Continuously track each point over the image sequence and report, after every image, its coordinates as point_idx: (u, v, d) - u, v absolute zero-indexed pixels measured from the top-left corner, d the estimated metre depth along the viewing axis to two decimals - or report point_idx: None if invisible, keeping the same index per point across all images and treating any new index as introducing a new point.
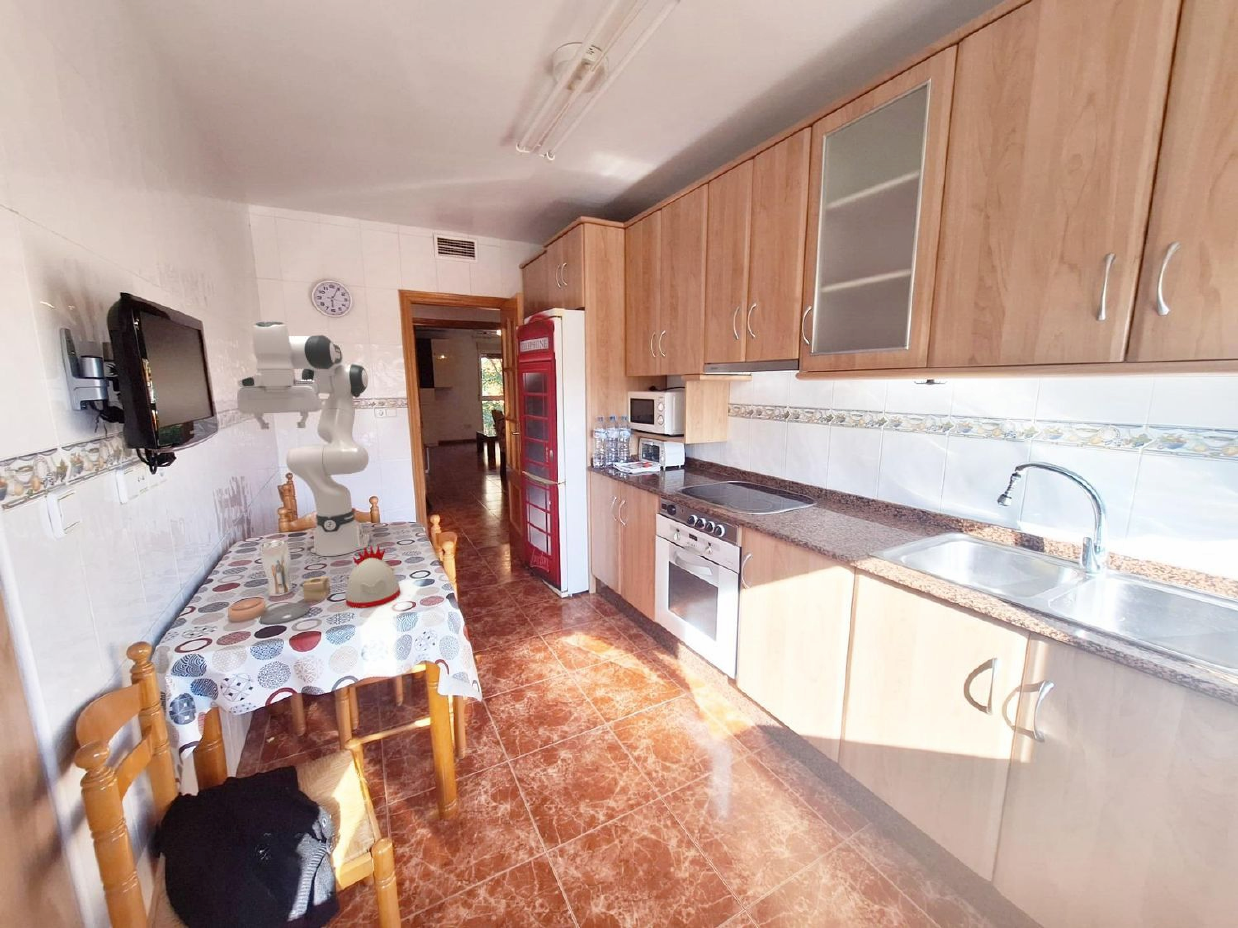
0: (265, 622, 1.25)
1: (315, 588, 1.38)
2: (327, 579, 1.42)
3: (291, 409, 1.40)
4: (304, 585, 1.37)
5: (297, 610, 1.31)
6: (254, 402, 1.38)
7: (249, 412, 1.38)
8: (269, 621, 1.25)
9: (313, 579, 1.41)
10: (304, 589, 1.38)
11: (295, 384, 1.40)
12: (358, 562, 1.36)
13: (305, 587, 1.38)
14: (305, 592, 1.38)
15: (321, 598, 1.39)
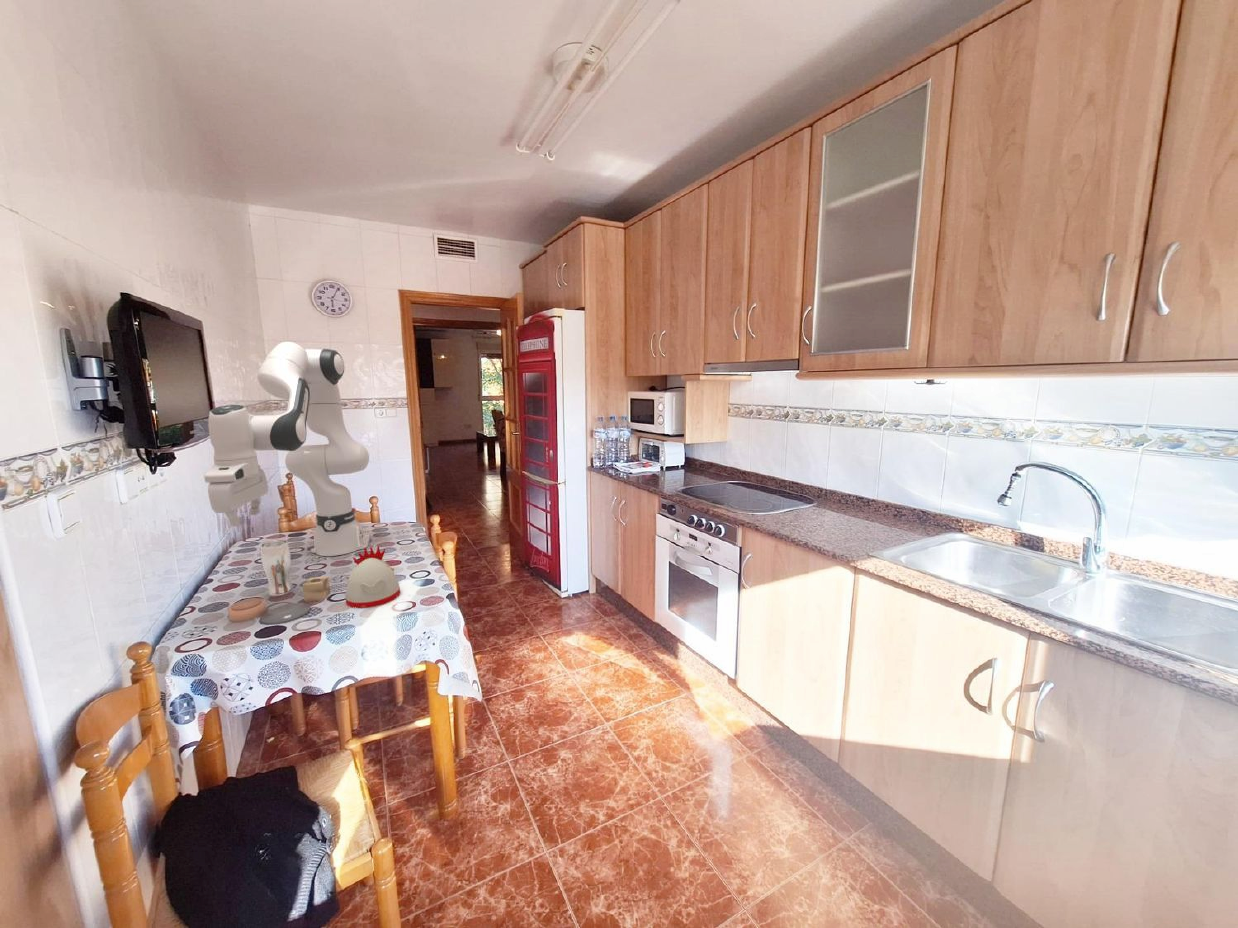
0: (265, 622, 1.25)
1: (315, 588, 1.38)
2: (327, 579, 1.42)
3: (257, 495, 1.33)
4: (304, 585, 1.37)
5: (297, 610, 1.31)
6: (237, 495, 1.24)
7: (234, 508, 1.23)
8: (269, 621, 1.25)
9: (313, 579, 1.41)
10: (304, 589, 1.38)
11: None
12: (358, 562, 1.36)
13: (305, 587, 1.38)
14: (305, 592, 1.38)
15: (321, 598, 1.39)
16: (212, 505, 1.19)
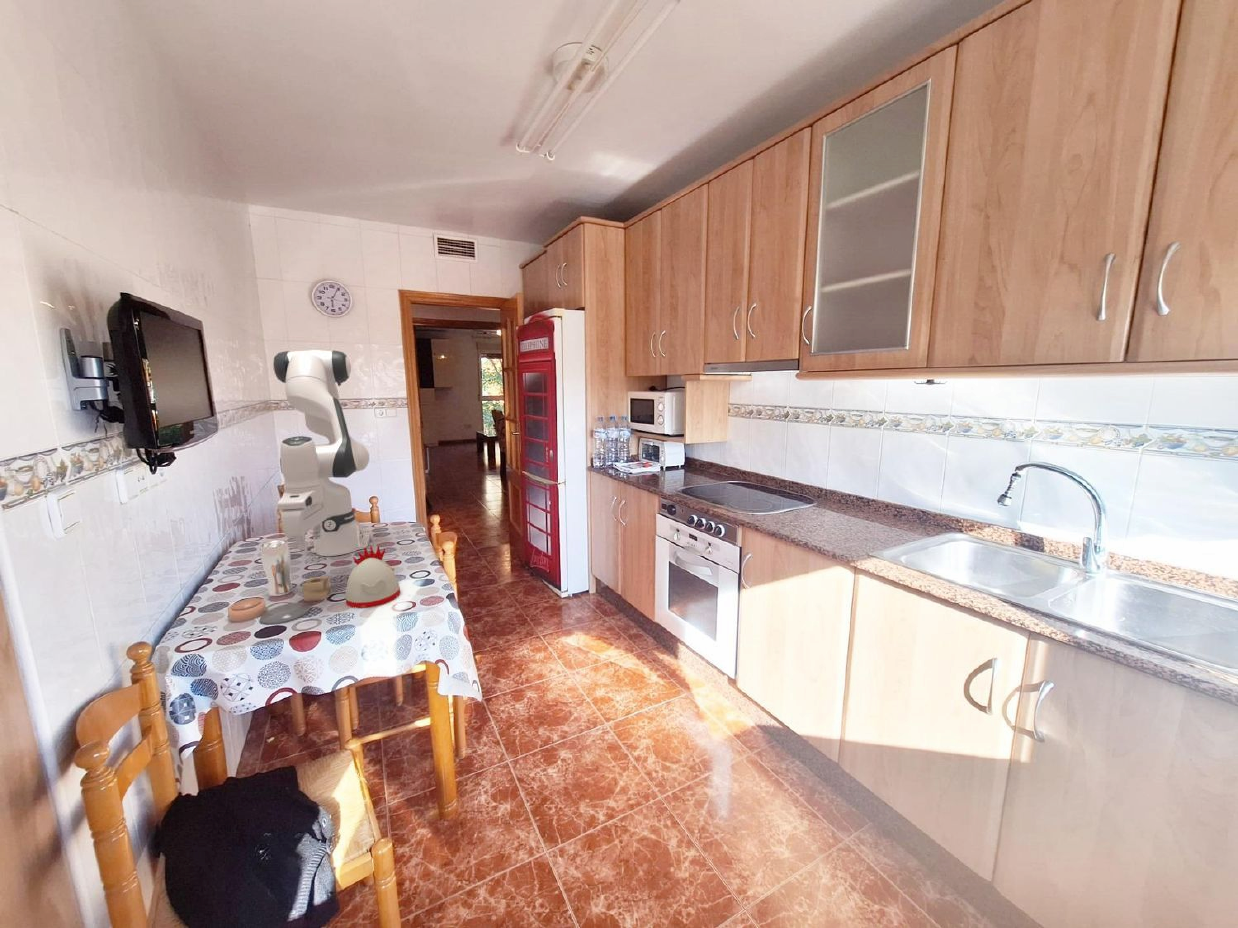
0: (265, 622, 1.25)
1: (315, 588, 1.38)
2: (327, 579, 1.42)
3: (320, 521, 1.41)
4: (304, 585, 1.37)
5: (297, 610, 1.31)
6: (305, 521, 1.32)
7: (303, 533, 1.30)
8: (269, 621, 1.25)
9: (313, 579, 1.41)
10: (304, 589, 1.38)
11: None
12: (358, 562, 1.36)
13: (305, 587, 1.38)
14: (305, 592, 1.38)
15: (321, 598, 1.39)
16: (284, 531, 1.27)
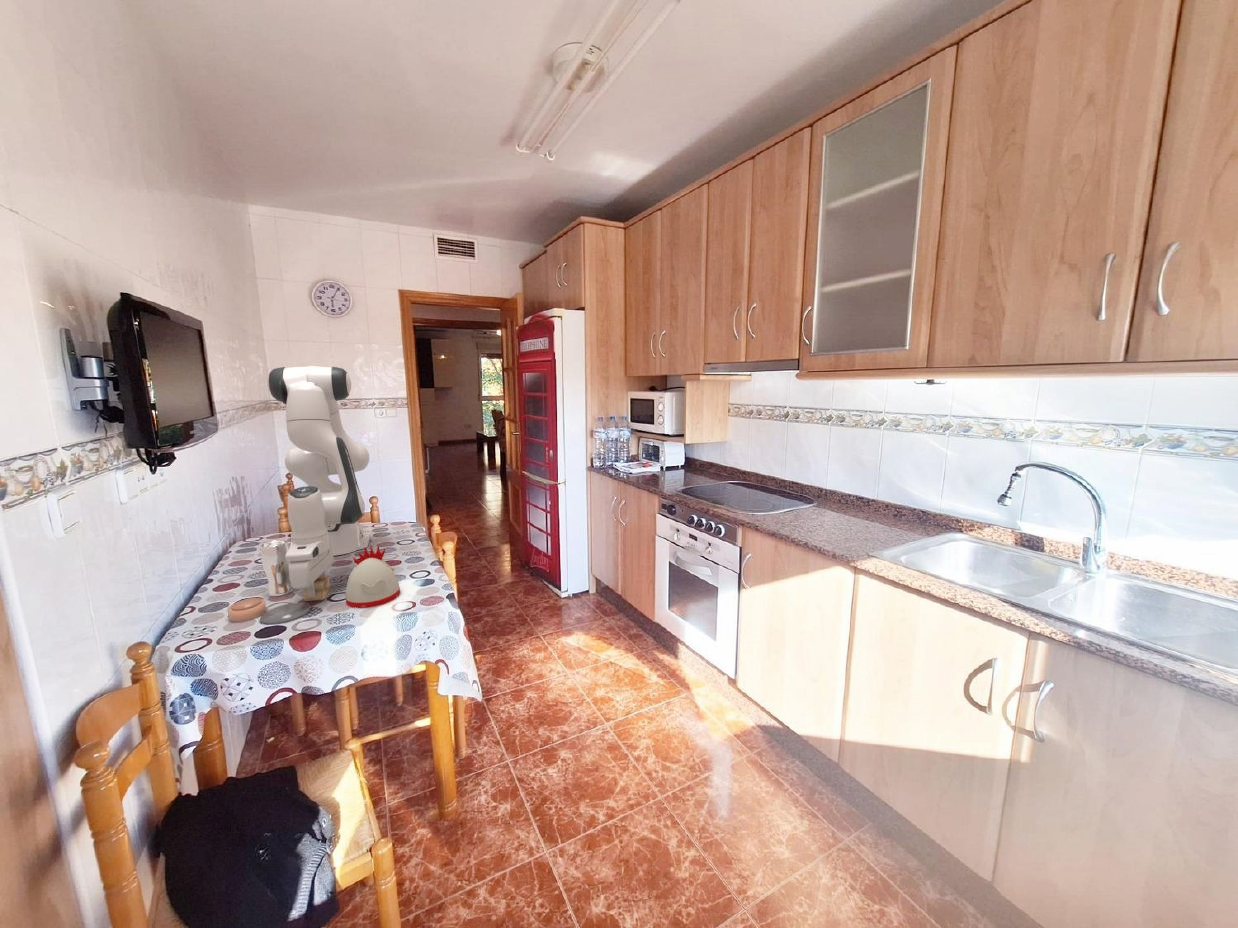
0: (265, 622, 1.25)
1: None
2: (327, 579, 1.42)
3: (326, 567, 1.43)
4: None
5: (297, 610, 1.31)
6: (312, 571, 1.34)
7: (310, 584, 1.33)
8: (269, 621, 1.25)
9: None
10: (304, 589, 1.38)
11: None
12: (358, 562, 1.36)
13: None
14: (305, 592, 1.38)
15: (321, 598, 1.39)
16: (292, 582, 1.30)
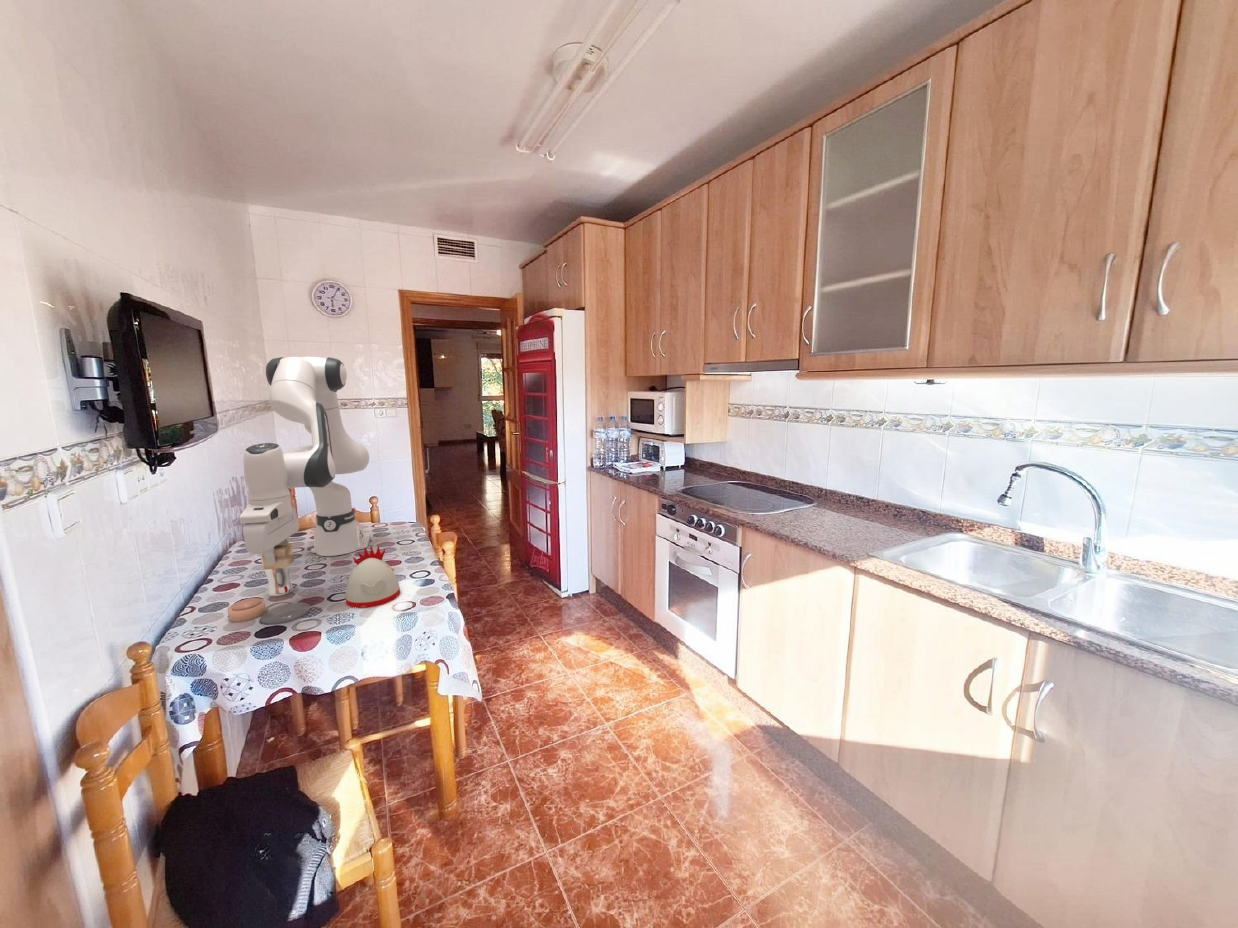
0: (265, 622, 1.25)
1: (275, 555, 1.25)
2: (290, 546, 1.29)
3: (289, 534, 1.31)
4: None
5: (297, 610, 1.31)
6: (271, 536, 1.21)
7: (269, 549, 1.20)
8: (269, 621, 1.25)
9: None
10: (263, 556, 1.25)
11: None
12: (358, 562, 1.36)
13: None
14: (264, 559, 1.25)
15: (282, 566, 1.26)
16: (247, 547, 1.17)
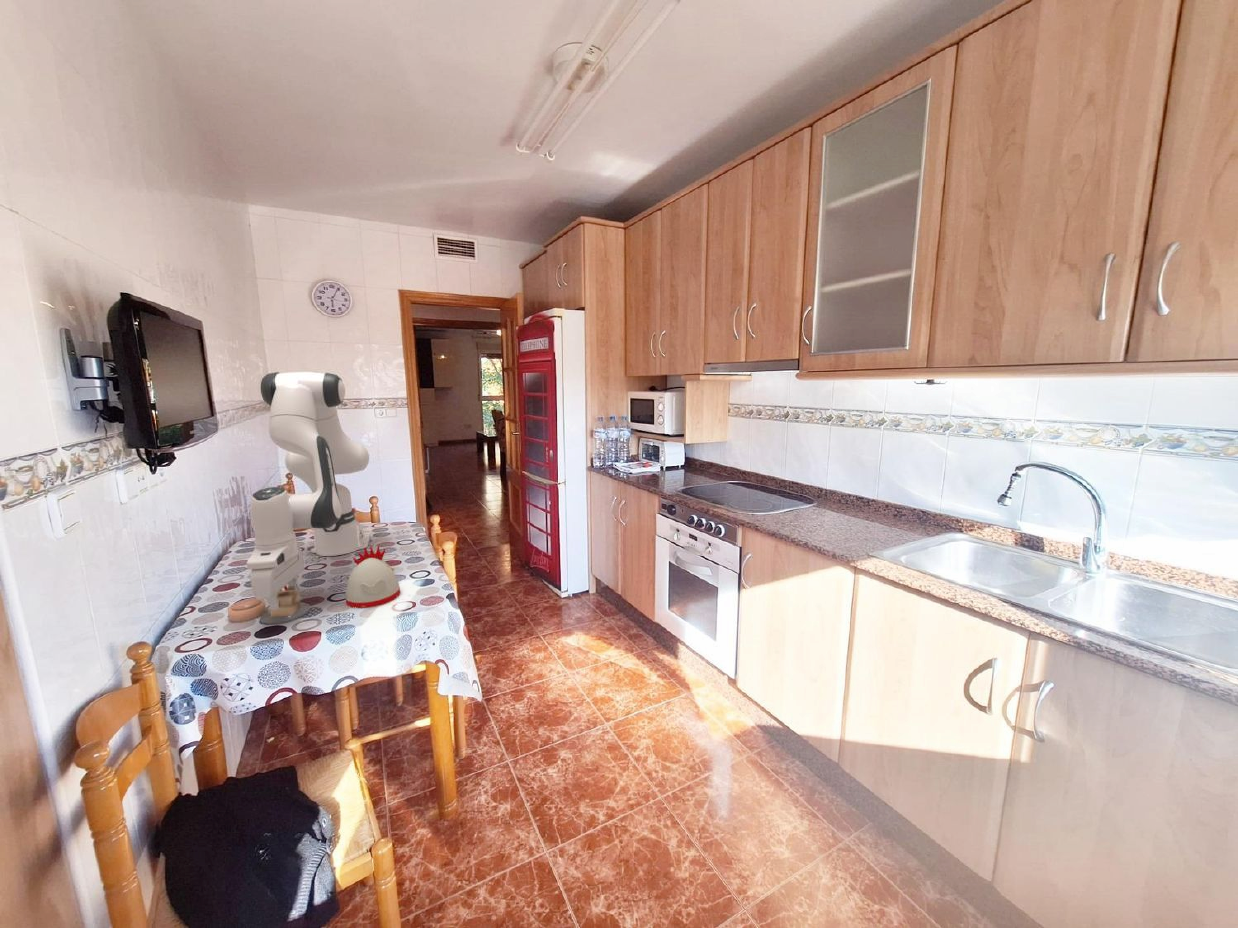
0: (265, 622, 1.25)
1: (282, 603, 1.28)
2: (296, 592, 1.32)
3: (295, 575, 1.33)
4: None
5: (297, 610, 1.31)
6: (277, 580, 1.23)
7: (275, 593, 1.22)
8: (269, 621, 1.25)
9: (281, 593, 1.30)
10: None
11: None
12: (358, 562, 1.36)
13: None
14: None
15: (289, 613, 1.28)
16: (254, 592, 1.19)
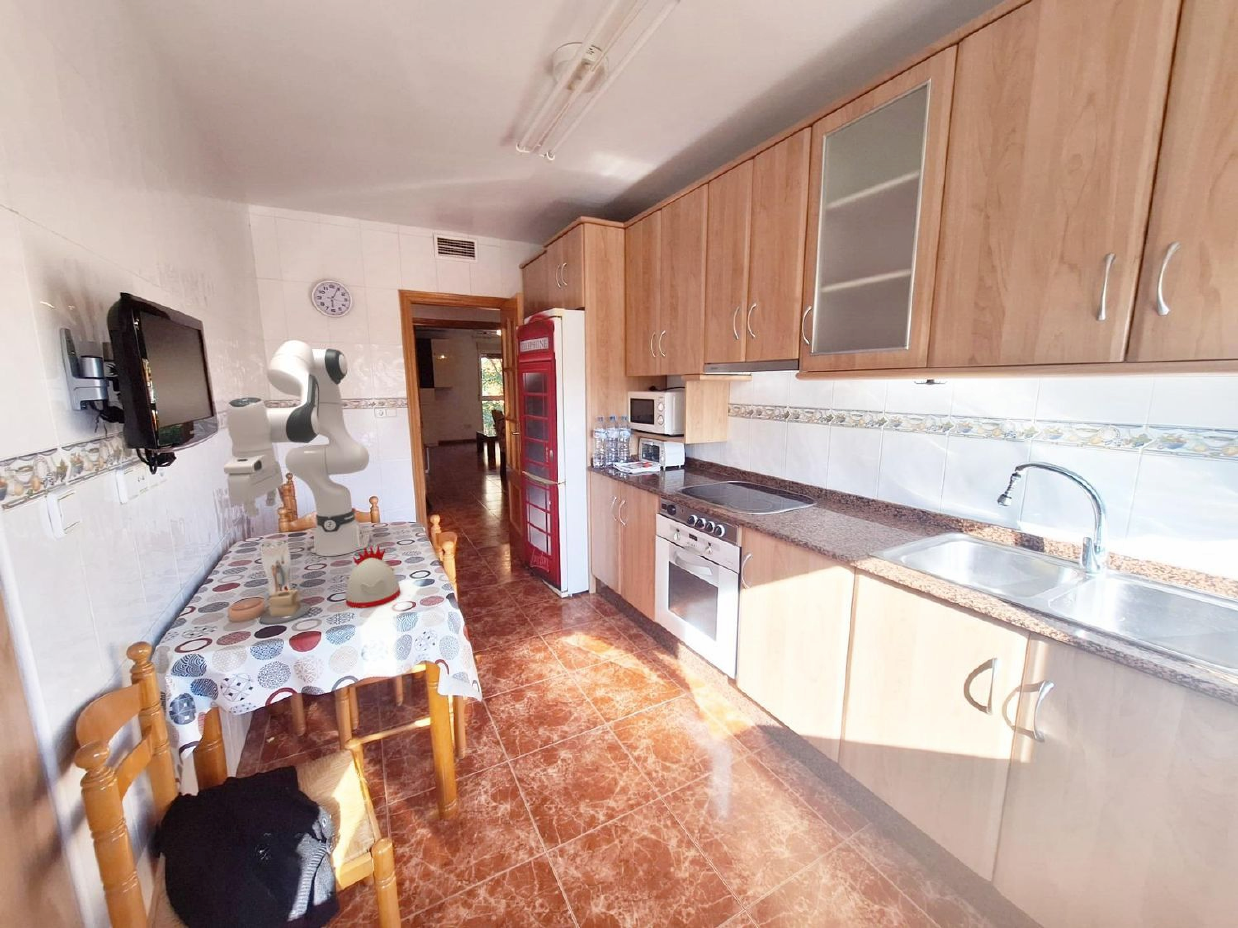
0: (265, 622, 1.25)
1: (282, 603, 1.28)
2: (296, 592, 1.32)
3: (273, 487, 1.35)
4: (270, 599, 1.27)
5: (297, 610, 1.31)
6: (255, 487, 1.26)
7: (253, 499, 1.25)
8: (269, 621, 1.25)
9: (281, 593, 1.30)
10: (270, 604, 1.27)
11: None
12: (358, 562, 1.36)
13: (271, 602, 1.27)
14: (272, 607, 1.27)
15: (289, 613, 1.28)
16: (231, 496, 1.21)
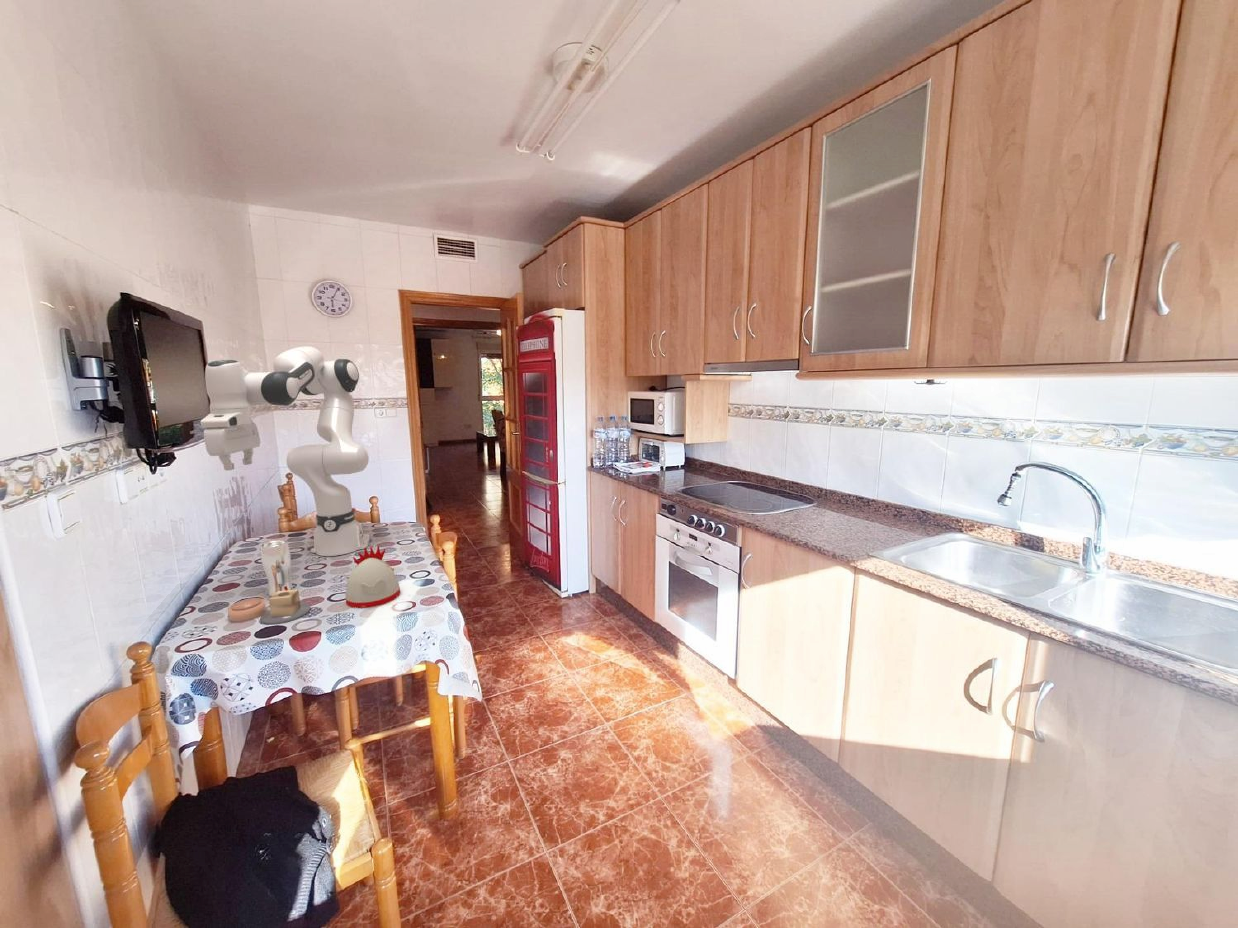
0: (265, 622, 1.25)
1: (282, 603, 1.28)
2: (296, 592, 1.32)
3: (249, 446, 1.43)
4: (270, 599, 1.27)
5: (297, 610, 1.31)
6: (230, 442, 1.34)
7: (228, 453, 1.33)
8: (269, 621, 1.25)
9: (281, 593, 1.30)
10: (270, 604, 1.27)
11: None
12: (358, 562, 1.36)
13: (271, 602, 1.27)
14: (272, 607, 1.27)
15: (289, 613, 1.28)
16: (207, 448, 1.29)
